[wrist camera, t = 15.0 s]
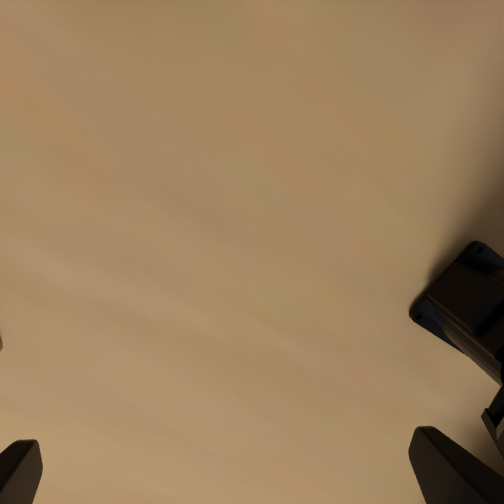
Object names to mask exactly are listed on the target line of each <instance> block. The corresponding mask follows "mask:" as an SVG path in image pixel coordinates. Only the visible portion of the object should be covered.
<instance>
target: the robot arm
mask: <svg viewBox="0 0 504 504" xmlns="http://www.w3.org/2000/svg"><path fill="white" fill-rule="evenodd" d="M478 247H479V248H478ZM476 248H478V250H477V251H475V250H476ZM418 313H419V315H418V316H416V315H417V314H418ZM409 317H410V318H411V319H412V320H413V321H414V322H415V323H417V324H418V325H420V326H421V327H423V328H425V329H426V330H428V331H429V332H431V333H432V334H434V335H435V336H437V337H439V338H440V339H442V340H443V341H445V342H446V343H448V344H449V345H451V346H453V347H454V348H456V349H457V350H459V351H460V352H462V353H463V354H465V355H467V356H468V357H469V358H470V359H472V360H473V361H474V362H475V363H476V364H477V365H478V366H479V367H480V368H481V369H482V370H484V371H485V372H486V373H487V374H488V375H489V376H490V377H491V378H492V379H493V380H494V381H495V382H497V383H498V384H499V385H500V386H501V387H500V389H499V391H498V392H497V394H496V396H495V397H494V399H493V401H492V402H491V404H490V406H489V407H488V408H485V410H484V412H483V413H482V415H481V418H482V420H483V422H484V424H485V426H486V428H487V429H488V431H489V433H490V435H491V437H492V439H493V441H494V442H495V444H496V446H497V448H498V450H499V452H500V453H501V455H502V457H503V459H504V259H503V258H502V257H501V256H500V255H498V254H497V253H496V252H495V251H493V250H492V249H491V248H490V247H488V246H487V245H486V244H484V243H482V242H480V241H473V242H472V243H470V244H469V245H468V247H467V248H466V249H465V250H464V251H463V252H462V253H461V254H460V256H459V257H458V258H457V259H456V260H455V261H454V262H453V263H452V264H451V266H450V267H449V268H448V269H447V270H446V271H445V272H444V273H443V274H442V276H441V277H440V278H439V279H438V280H437V281H436V282H435V283H434V285H433V286H432V287H431V288H430V289H429V290H428V291H427V292H426V293H425V295H424V296H423V297H422V298H421V299H420V300H419V301H418V302H417V304H416V305H415V306H414V307H413V308H412V309H411V310H410V312H409ZM408 453H409V459H410V462H411V465H412V468H413V470H414V473H415V475H416V478H417V481H418V483H419V486H420V489H421V491H422V494H423V497H424V499H425V502H426V504H504V478H503V477H502V476H500V475H499V474H498V473H496V472H495V471H494V470H492V469H491V468H490V467H488V466H487V465H485V464H484V463H483V462H481V461H480V460H479V459H477V458H476V457H475V456H473V455H472V454H471V453H469V452H468V451H466V450H465V449H464V448H462V447H461V446H460V445H458V444H457V443H456V442H454V441H453V440H451V439H450V438H449V437H447V436H446V435H445V434H443V433H442V432H441V431H439V430H438V429H436V428H435V427H432V426H419V427H417V428H416V429H415V431H414V434H413V437H412V440H411V443H410V446H409V452H408ZM42 471H43V464H42V458H41V453H40V448H39V443H38V441H37V440H34V439H30V440H17V441H15V442H13V443H12V444H11V445H10V446H8V447H7V448H6V449H5V450H4V451H3V452H1V453H0V504H32V503H33V500H34V497H35V494H36V491H37V488H38V485H39V482H40V479H41V476H42Z"/></svg>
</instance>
